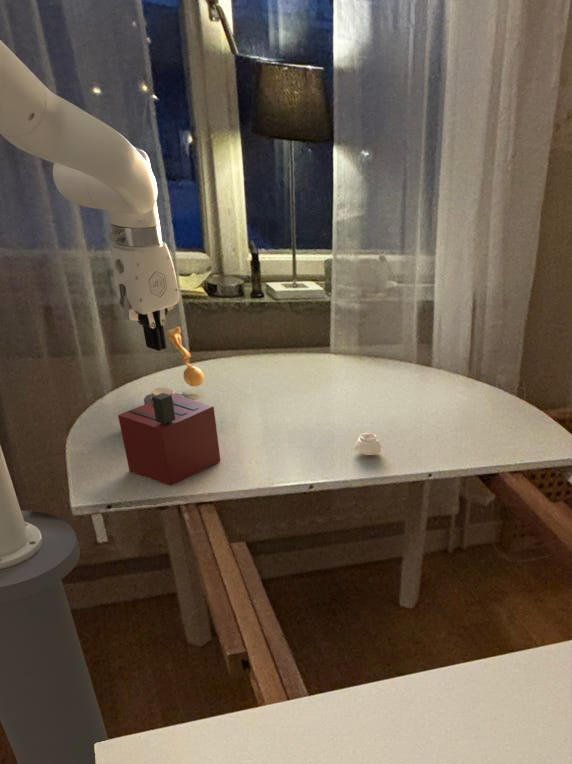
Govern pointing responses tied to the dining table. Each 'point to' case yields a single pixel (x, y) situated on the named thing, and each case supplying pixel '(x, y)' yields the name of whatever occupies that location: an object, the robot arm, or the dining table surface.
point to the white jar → (368, 444)
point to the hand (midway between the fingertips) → (156, 347)
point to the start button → (162, 391)
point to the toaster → (170, 441)
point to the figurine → (186, 360)
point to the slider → (163, 408)
